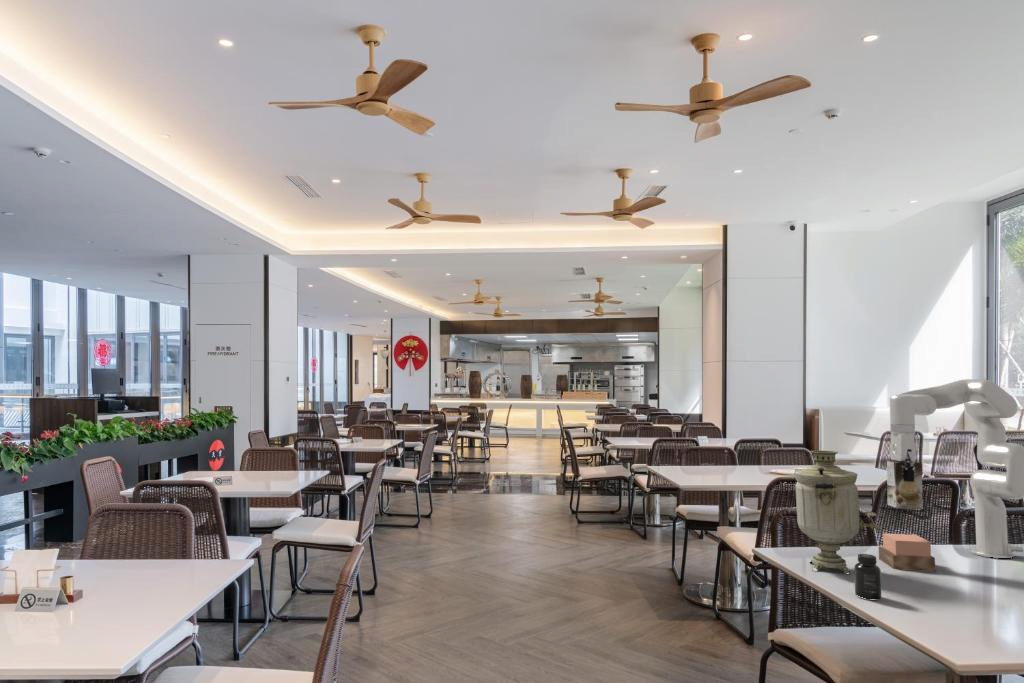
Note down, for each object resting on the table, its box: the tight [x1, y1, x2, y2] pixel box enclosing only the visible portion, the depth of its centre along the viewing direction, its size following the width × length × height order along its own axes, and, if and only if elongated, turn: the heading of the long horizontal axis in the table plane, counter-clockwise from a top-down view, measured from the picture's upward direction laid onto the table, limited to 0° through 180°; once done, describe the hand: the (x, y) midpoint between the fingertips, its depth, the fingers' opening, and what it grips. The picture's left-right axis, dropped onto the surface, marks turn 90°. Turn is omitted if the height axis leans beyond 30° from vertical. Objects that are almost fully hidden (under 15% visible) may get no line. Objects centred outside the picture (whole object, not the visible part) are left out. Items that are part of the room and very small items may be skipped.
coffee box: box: [886, 460, 924, 510], centre depth 226 cm, size 9×6×16 cm
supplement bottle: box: [853, 553, 882, 600], centre depth 189 cm, size 7×7×12 cm
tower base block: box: [878, 545, 936, 572], centre depth 224 cm, size 13×13×5 cm
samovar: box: [793, 450, 883, 574], centre depth 217 cm, size 30×26×40 cm
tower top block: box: [882, 532, 932, 557], centre depth 224 cm, size 11×11×5 cm
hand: (904, 479), depth 226 cm, fingers closed on coffee box, 6 cm apart
